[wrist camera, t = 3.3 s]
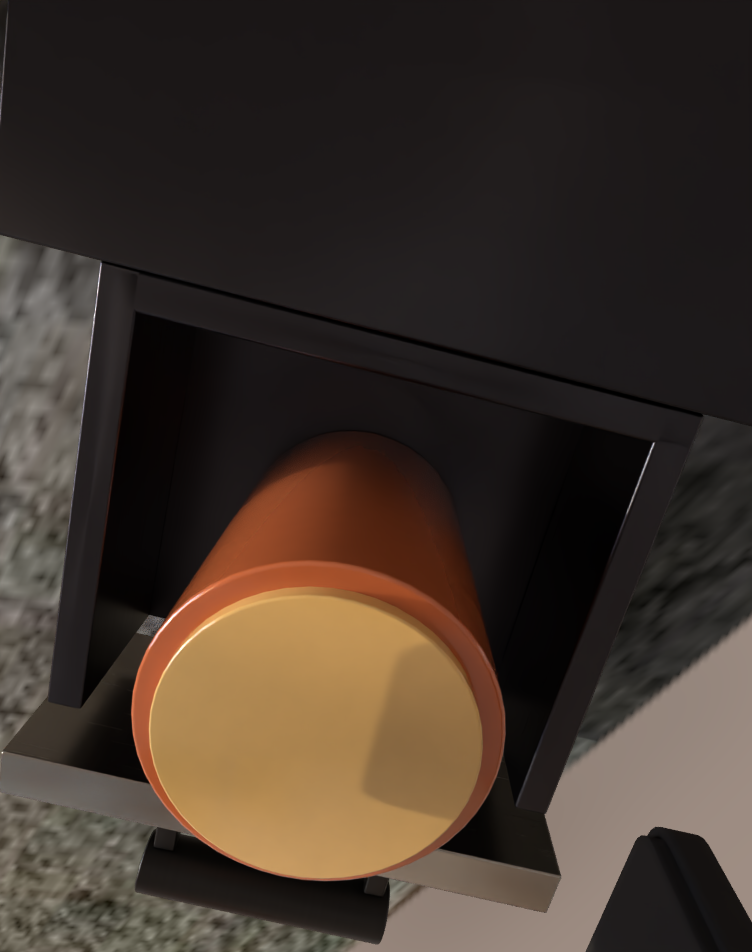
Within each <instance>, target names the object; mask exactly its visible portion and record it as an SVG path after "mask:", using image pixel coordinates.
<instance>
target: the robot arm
mask: <svg viewBox="0 0 752 952" xmlns="http://www.w3.org/2000/svg"><path fill="white" fill-rule="evenodd" d="M586 952H752V922H751V920H750V918H749V917H748V915H747V913H746V911H745V909H744V908H743V906H742V904H741V902H740V900H739V899H738V897H737V895H736V893H735V891H734V890H733V888H732V886H731V884H730V883H729V881H728V879H727V877H726V875H725V873H724V872H723V870H722V868H721V866H720V865H719V863H718V861H717V859H716V857H715V856H714V854H713V852H712V850H711V849H710V847H709V845H708V844H707V842H706V841H705V840H704V839H703V838H702V837H700V836H698V835H694V834H690V833H686V832H681V831H676V830H672V829H667V828H663V827H655V828H653V829H652V830H651V831H650V832H649V834H648V835H647V836H640V837H638V838H637V840H636V841H635V843H634V845H633V848H632V850H631V852H630V854H629V857H628V859H627V861H626V863H625V866H624V868H623V870H622V872H621V874H620V877H619V879H618V881H617V883H616V885H615V888H614V890H613V892H612V894H611V897H610V899H609V901H608V903H607V905H606V908H605V910H604V912H603V914H602V917H601V919H600V921H599V923H598V925H597V928H596V930H595V932H594V934H593V936H592V939H591V941H590V943H589V945H588V948H587V950H586Z"/></svg>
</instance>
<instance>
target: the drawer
mask: <svg viewBox="0 0 752 952" xmlns="http://www.w3.org/2000/svg"><path fill="white" fill-rule="evenodd" d="M702 420H703V415H702V414H701V413H697V412H693V411H689V410H685V409H682V408H678V407H674V406H670V405H666V404H662V403H658V402H654V401H650V400H646V399H642V398H638V397H634V396H631V395H627V394H623V393H619V392H615V391H611V390H607V389H603V388H599V387H595V386H591V385H587V384H583V383H580V382H576V381H572V380H568V379H564V378H560V377H556V376H552V375H548V374H544V373H540V372H536V371H533V370H529V369H525V368H521V367H517V366H513V365H509V364H505V363H501V362H497V361H493V360H489V359H485V358H482V357H478V356H474V355H470V354H466V353H462V352H458V351H454V350H450V349H446V348H442V347H438V346H434V345H431V344H427V343H423V342H419V341H415V340H411V339H407V338H403V337H399V336H395V335H391V334H387V333H383V332H380V331H376V330H372V329H368V328H364V327H360V326H356V325H352V324H348V323H344V322H340V321H336V320H333V319H329V318H325V317H321V316H317V315H313V314H309V313H305V312H301V311H297V310H293V309H289V308H285V307H282V306H278V305H274V304H270V303H266V302H262V301H258V300H254V299H250V298H246V297H242V296H238V295H234V294H231V293H227V292H223V291H219V290H215V289H211V288H207V287H203V286H199V285H195V284H191V283H187V282H183V281H180V280H176V279H172V278H168V277H164V276H160V275H156V274H152V273H148V272H144V271H140V270H136V269H133V268H129V267H125V266H121V265H117V264H113V263H109V262H105V261H101V263H100V271H99V279H98V287H97V295H96V304H95V312H94V320H93V328H92V337H91V345H90V353H89V361H88V370H87V378H86V386H85V395H84V403H83V411H82V419H81V428H80V436H79V444H78V452H77V461H76V469H75V477H74V485H73V494H72V502H71V510H70V518H69V527H68V535H67V543H66V551H65V560H64V568H63V576H62V584H61V593H60V601H59V609H58V617H57V626H56V634H55V642H54V650H53V659H52V667H51V675H50V683H49V692H48V696H47V698H46V699H45V700H44V701H43V703H42V704H41V705H40V706H39V707H38V709H37V710H36V711H35V712H34V713H33V715H32V716H31V717H30V718H29V719H28V721H27V722H26V723H25V724H24V726H23V727H22V728H21V729H20V730H19V732H18V733H17V734H16V735H15V736H14V738H13V739H12V740H11V741H10V742H9V744H8V745H7V746H6V747H5V749H4V750H3V751H2V754H1V764H0V792H2V793H6V794H11V795H15V796H20V797H24V798H29V799H33V800H38V801H42V802H47V803H51V804H56V805H60V806H65V807H69V808H74V809H78V810H83V811H87V812H92V813H96V814H101V815H106V816H110V817H115V818H119V819H124V820H128V821H133V822H137V823H142V824H146V825H151V826H155V827H157V829H155V830H154V831H153V832H152V834H151V836H150V838H149V840H148V843H147V845H146V848H145V850H144V853H143V856H142V859H141V862H140V866H139V869H138V873H137V877H136V882H135V891H136V892H137V893H142V894H147V895H151V896H156V897H160V898H165V899H170V900H174V901H179V902H184V903H188V904H193V905H197V906H202V907H207V908H211V909H216V910H220V911H225V912H230V913H234V914H239V915H243V916H248V917H253V918H257V919H262V920H266V921H271V922H276V923H280V924H285V925H289V926H294V927H299V928H303V929H308V930H312V931H317V932H322V933H326V934H331V935H335V936H340V937H345V938H349V939H354V940H358V941H363V942H368V943H372V944H379V943H380V942H381V940H382V937H383V934H384V931H385V927H386V922H387V916H388V909H389V900H390V885H389V878H390V879H395V880H399V881H404V882H408V883H413V884H417V885H422V886H426V887H431V888H435V889H440V890H444V891H449V892H454V893H458V894H462V895H467V896H471V897H476V898H480V899H485V900H489V901H494V902H499V903H504V904H507V905H512V906H516V907H521V908H525V909H530V910H534V911H539V912H544V913H546V912H547V910H548V908H549V905H550V903H551V901H552V898H553V896H554V893H555V891H556V889H557V886H558V884H559V882H560V879H561V874H560V871H559V866H558V863H557V859H556V855H555V852H554V848H553V844H552V841H551V837H550V833H549V830H548V826H547V822H546V819H545V815H544V814H545V813H546V812H547V810H548V807H549V805H550V802H551V800H552V797H553V795H554V792H555V790H556V787H557V785H558V782H559V780H560V777H561V775H562V772H563V770H564V767H565V765H566V762H567V760H568V757H569V755H570V752H571V750H572V747H573V745H574V742H575V740H576V737H577V734H578V732H579V729H580V727H581V724H582V722H583V719H584V717H585V714H586V712H587V709H588V707H589V704H590V702H591V699H592V697H593V694H594V692H595V689H596V687H597V684H598V682H599V679H600V677H601V674H602V672H603V669H604V667H605V664H606V662H607V659H608V657H609V654H610V652H611V649H612V647H613V644H614V642H615V639H616V637H617V634H618V631H619V629H620V626H621V624H622V621H623V619H624V616H625V614H626V611H627V609H628V606H629V604H630V601H631V599H632V596H633V594H634V591H635V589H636V586H637V584H638V581H639V579H640V576H641V574H642V571H643V569H644V566H645V564H646V561H647V559H648V556H649V554H650V551H651V549H652V546H653V544H654V541H655V539H656V536H657V534H658V531H659V528H660V526H661V523H662V521H663V518H664V516H665V513H666V511H667V508H668V506H669V503H670V501H671V498H672V496H673V493H674V491H675V488H676V486H677V483H678V481H679V478H680V476H681V473H682V471H683V468H684V466H685V463H686V461H687V458H688V456H689V453H690V451H691V448H692V446H693V443H694V441H695V438H696V436H697V433H698V431H699V428H700V426H701V423H702ZM341 431H360V432H368V433H373V434H378V435H381V436H385V437H388V438H391V439H393V440H395V441H398V442H400V443H402V444H404V445H406V446H407V447H409V448H411V449H412V450H414V451H415V452H417V453H418V454H419V455H421V456H422V457H423V458H424V459H425V460H427V461H428V462H429V463H430V464H431V466H432V467H433V468H434V469H435V470H436V471H437V472H438V473H439V475H440V476H441V478H442V479H443V481H444V482H445V483H446V485H447V487H448V489H449V491H450V493H451V495H452V498H453V501H454V503H455V506H456V509H457V513H458V517H459V522H460V526H461V530H462V534H463V538H464V542H465V546H466V550H467V554H468V558H469V562H470V566H471V570H472V574H473V578H474V582H475V586H476V590H477V594H478V598H479V603H480V607H481V611H482V615H483V619H484V623H485V627H486V631H487V635H488V639H489V643H490V647H491V651H492V655H493V659H494V663H495V667H496V671H497V675H498V680H499V684H500V688H501V692H502V697H503V703H504V708H505V719H506V737H505V745H504V753H503V757H502V760H501V764H500V768H499V771H498V774H497V777H496V779H495V781H494V783H493V785H492V788H491V790H490V792H489V794H488V796H487V797H486V799H485V801H484V802H483V804H482V805H481V807H480V808H479V810H478V812H477V813H476V814H475V815H474V816H473V817H472V819H471V820H470V821H469V822H468V823H467V824H466V826H465V827H464V828H463V829H462V830H461V831H459V832H458V833H457V834H456V835H455V836H454V837H453V838H452V839H450V840H449V841H448V842H447V843H445V844H444V845H442V846H441V847H439V848H438V849H437V850H435V851H434V852H432V853H431V854H429V855H427V856H425V857H423V858H421V859H419V860H417V861H415V862H413V863H412V864H409V865H406V866H404V867H401V868H399V869H396V870H393V871H391V872H387V873H383V874H379V875H375V876H371V877H366V878H359V879H352V880H340V881H315V880H301V879H295V878H289V877H283V876H278V875H274V874H271V873H267V872H264V871H260V870H257V869H254V868H252V867H249V866H247V865H244V864H241V863H239V862H236V861H235V860H233V859H231V858H229V857H227V856H225V855H223V854H221V853H219V852H217V851H216V850H214V849H213V848H211V847H210V846H208V845H207V844H205V843H204V842H202V841H201V840H199V839H198V838H196V837H191V836H187V835H182V834H180V833H181V832H182V833H187V834H191V835H193V834H192V833H191V832H190V831H188V830H187V829H186V828H185V827H184V826H182V825H181V823H180V822H179V821H178V820H177V819H176V818H175V817H174V816H173V815H172V814H171V813H170V812H169V811H168V810H167V808H166V807H165V806H164V804H163V803H162V801H161V800H160V799H159V797H158V796H157V795H156V793H155V792H154V790H153V788H152V786H151V784H150V782H149V781H148V779H147V777H146V775H145V773H144V771H143V768H142V765H141V763H140V760H139V757H138V755H137V751H136V746H135V741H134V737H133V729H132V715H131V707H132V696H133V688H134V684H135V679H136V675H137V671H138V668H139V666H140V663H141V661H142V658H143V656H144V654H145V651H146V649H147V647H148V646H149V644H150V642H151V641H152V639H153V638H154V637H152V636H148V635H143V634H139V633H136V632H137V631H138V629H139V628H140V626H141V625H142V624H143V622H144V621H145V620H146V618H147V617H148V615H152V616H157V617H161V618H165V619H166V618H167V616H168V615H169V613H170V612H171V610H172V609H173V607H174V606H175V604H176V603H177V601H178V600H179V598H180V597H181V595H182V594H183V592H184V591H185V589H186V588H187V586H188V585H189V583H190V582H191V580H192V579H193V577H194V576H195V574H196V573H197V571H198V570H199V568H200V567H201V565H202V564H203V562H204V561H205V559H206V558H207V556H208V555H209V553H210V552H211V550H212V549H213V547H214V546H215V544H216V543H217V541H218V540H219V539H220V537H221V536H222V534H223V533H224V531H225V530H226V528H227V527H228V525H229V524H230V522H231V521H232V519H233V518H234V516H235V515H236V513H237V512H238V510H239V509H240V507H241V506H242V504H243V503H244V501H245V500H246V498H247V497H248V495H249V494H250V492H251V491H252V489H253V488H254V486H255V485H256V483H257V482H258V480H259V479H260V477H261V476H262V474H263V473H264V472H265V471H266V469H267V468H268V467H269V466H270V465H271V463H273V462H274V461H275V460H276V459H277V458H278V457H279V456H280V455H281V454H283V453H284V452H286V451H287V450H288V449H290V448H291V447H293V446H295V445H297V444H299V443H301V442H303V441H304V440H307V439H310V438H312V437H315V436H318V435H322V434H327V433H332V432H341Z"/></svg>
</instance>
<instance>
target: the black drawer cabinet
mask: <svg viewBox="0 0 752 952" xmlns="http://www.w3.org/2000/svg"><path fill="white" fill-rule="evenodd" d="M0 235H3V236H7V237H11V238H15V239H19V240H23V241H27V242H31V243H34V244H38V245H42V246H46V247H50V248H54V249H58V250H62V251H66V252H70V253H74V254H78V255H82V256H85V257H89V258H93V259H97V260H101V261H105V262H109V263H113V264H117V265H121V266H125V267H129V268H133V269H136V270H140V271H144V272H148V273H152V274H156V275H160V276H164V277H168V278H172V279H176V280H180V281H183V282H187V283H191V284H195V285H199V286H203V287H207V288H211V289H215V290H219V291H223V292H227V293H231V294H234V295H238V296H242V297H246V298H250V299H254V300H258V301H262V302H266V303H270V304H274V305H278V306H282V307H285V308H289V309H293V310H297V311H301V312H305V313H309V314H313V315H317V316H321V317H325V318H329V319H333V320H336V321H340V322H344V323H348V324H352V325H356V326H360V327H364V328H368V329H372V330H376V331H380V332H383V333H387V334H391V335H395V336H399V337H403V338H407V339H411V340H415V341H419V342H423V343H427V344H431V345H434V346H438V347H442V348H446V349H450V350H454V351H458V352H462V353H466V354H470V355H474V356H478V357H482V358H485V359H489V360H493V361H497V362H501V363H505V364H509V365H513V366H517V367H521V368H525V369H529V370H533V371H536V372H540V373H544V374H548V375H552V376H556V377H560V378H564V379H568V380H572V381H576V382H580V383H583V384H587V385H591V386H595V387H599V388H603V389H607V390H611V391H615V392H619V393H623V394H627V395H631V396H634V397H638V398H642V399H646V400H650V401H654V402H658V403H662V404H666V405H670V406H674V407H678V408H682V409H685V410H689V411H693V412H697V413H701V414H705V415H709V416H713V417H717V418H721V419H725V420H729V421H733V422H736V423H740V424H744V425H748V426H752V0H8V6H7V19H6V33H5V46H4V59H3V73H2V86H1V100H0Z"/></svg>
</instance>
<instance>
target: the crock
mask: <svg viewBox="0 0 752 952" xmlns="http://www.w3.org/2000/svg"><path fill="white" fill-rule="evenodd" d="M131 715H132V729H133V737H134V741H135V746H136V751H137V755H138V757H139V760H140V763H141V765H142V768H143V771H144V773H145V775H146V777H147V779H148V781H149V782H150V784H151V786H152V788H153V790H154V792H155V793H156V795H157V796H158V797H159V799H160V800H161V801H162V803H163V804H164V806H165V807H166V808H167V810H168V811H169V812H170V813H171V814H172V815H173V816H174V817H175V818H176V819H177V820H178V821H179V822H180V823H181V825H182V826H184V827H185V828H186V829H187V830H188V831H190V832H191V833H192V834H193V835H194V836H196V837H197V838H198V839H199V840H201V841H202V842H204V843H205V844H207V845H208V846H210V847H211V848H213V849H214V850H216V851H217V852H219V853H221V854H223V855H225V856H227V857H229V858H231V859H233V860H235V861H236V862H239V863H241V864H244V865H247V866H249V867H252V868H254V869H257V870H260V871H264V872H267V873H271V874H274V875H278V876H283V877H289V878H295V879H301V880H315V881H340V880H352V879H359V878H366V877H371V876H375V875H379V874H383V873H387V872H391V871H393V870H396V869H399V868H401V867H404V866H406V865H409V864H412V863H413V862H415V861H417V860H419V859H421V858H423V857H425V856H427V855H429V854H431V853H432V852H434V851H435V850H437V849H438V848H439V847H441V846H442V845H444V844H445V843H447V842H448V841H449V840H450V839H452V838H453V837H454V836H455V835H456V834H457V833H458V832H459V831H461V830H462V829H463V828H464V827H465V826H466V824H467V823H468V822H469V821H470V820H471V819H472V817H473V816H474V815H475V814H476V813H477V812H478V810H479V808H480V807H481V805H482V804H483V802H484V801H485V799H486V797H487V796H488V794H489V792H490V790H491V788H492V785H493V783H494V781H495V779H496V777H497V774H498V771H499V768H500V764H501V760H502V757H503V753H504V745H505V737H506V719H505V708H504V703H503V697H502V692H501V688H500V684H499V680H498V675H497V671H496V667H495V663H494V659H493V655H492V651H491V647H490V643H489V639H488V635H487V631H486V627H485V623H484V619H483V615H482V611H481V607H480V603H479V598H478V594H477V590H476V586H475V582H474V578H473V574H472V570H471V566H470V562H469V558H468V554H467V550H466V546H465V542H464V538H463V534H462V530H461V526H460V522H459V517H458V513H457V509H456V506H455V503H454V501H453V498H452V495H451V493H450V491H449V489H448V487H447V485H446V483H445V482H444V481H443V479H442V478H441V476H440V475H439V473H438V472H437V471H436V470H435V469H434V468H433V467H432V466H431V464H430V463H429V462H428V461H427V460H425V459H424V458H423V457H422V456H421V455H419V454H418V453H417V452H415V451H414V450H412V449H411V448H409V447H407V446H406V445H404V444H402V443H400V442H398V441H395V440H393V439H391V438H388V437H385V436H381V435H378V434H373V433H368V432H360V431H341V432H332V433H327V434H322V435H318V436H315V437H312V438H310V439H307V440H304V441H303V442H301V443H299V444H297V445H295V446H293V447H291V448H290V449H288V450H287V451H286V452H284V453H283V454H281V455H280V456H279V457H278V458H277V459H276V460H275V461H274V462H273V463H271V465H270V466H269V467H268V468H267V469H266V471H265V472H264V473H263V474H262V476H261V477H260V479H259V480H258V482H257V483H256V485H255V486H254V488H253V489H252V491H251V492H250V494H249V495H248V497H247V498H246V500H245V501H244V503H243V504H242V506H241V507H240V509H239V510H238V512H237V513H236V515H235V516H234V518H233V519H232V521H231V522H230V524H229V525H228V527H227V528H226V530H225V531H224V533H223V534H222V536H221V537H220V539H219V540H218V541H217V543H216V544H215V546H214V547H213V549H212V550H211V552H210V553H209V555H208V556H207V558H206V559H205V561H204V562H203V564H202V565H201V567H200V568H199V570H198V571H197V573H196V574H195V576H194V577H193V579H192V580H191V582H190V583H189V585H188V586H187V588H186V589H185V591H184V592H183V594H182V595H181V597H180V598H179V600H178V601H177V603H176V604H175V606H174V607H173V609H172V610H171V612H170V613H169V615H168V616H167V618H166V619H165V621H164V622H163V624H162V625H161V627H160V628H159V630H158V631H157V633H156V634H155V636H154V638H153V639H152V641H151V642H150V644H149V646H148V647H147V649H146V651H145V654H144V656H143V658H142V661H141V663H140V666H139V668H138V671H137V675H136V679H135V684H134V688H133V696H132V707H131Z"/></svg>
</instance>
